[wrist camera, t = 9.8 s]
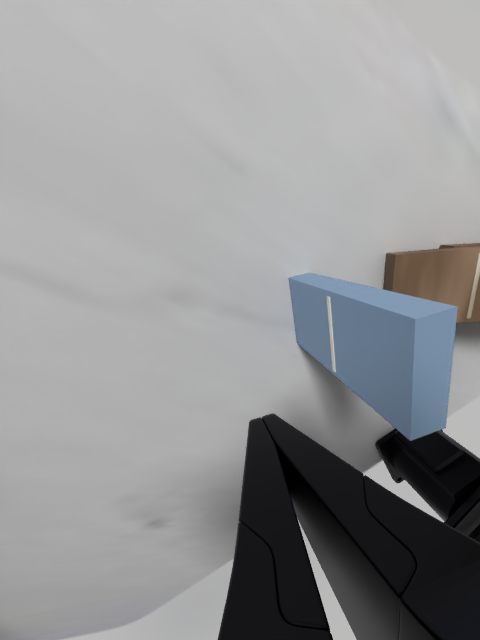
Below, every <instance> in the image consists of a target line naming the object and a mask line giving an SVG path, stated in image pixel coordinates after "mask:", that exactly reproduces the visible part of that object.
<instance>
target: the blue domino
mask: <svg viewBox="0 0 480 640" xmlns="http://www.w3.org/2000/svg"><path fill="white" fill-rule="evenodd" d="M289 285H290V293H291V301H292V308H293V316H294V323H295V331H296V339H297V343H298V344H299V345H300V346H301V347H302V348H304V349H305V350H306V351H307V352H308V353H309V354H310V355H312V356H313V357H314V358H315V359H316V360H317V361H319V362H320V363H321V364H322V365H323V366H324V367H325V368H327V369H328V370H329V371H330V372H331V373H332V374H334V375H335V376H336V377H337V378H338V379H339V380H340V381H342V382H343V383H344V384H345V385H346V386H347V387H349V388H350V389H351V390H352V391H353V392H354V393H355V394H357V395H358V396H359V397H360V398H361V399H362V400H364V401H365V402H366V403H367V404H368V405H369V406H370V407H372V408H373V409H374V410H375V411H376V412H377V413H379V414H380V415H381V416H382V417H383V418H384V419H385V420H387V421H388V422H389V423H390V424H391V425H392V426H394V427H395V428H396V429H397V430H398V431H399V432H401V433H402V434H403V435H404V436H405V437H406V438H407V439H409V440H410V441H412V440H414V439H417V438H420V437H422V436H425V435H428V434H430V433H433V432H436V431H438V430H441V429H444V428H446V419H447V409H448V399H449V389H450V379H451V369H452V359H453V349H454V339H455V329H456V319H457V309H458V307H457V306H453V305H448V304H444V303H440V302H435V301H431V300H427V299H422V298H418V297H413V296H409V295H405V294H400V293H396V292H392V291H387V290H383V289H379V288H374V287H370V286H366V285H361V284H357V283H352V282H348V281H344V280H339V279H335V278H331V277H326V276H322V275H318V274H313V273H307V274H303V275H298V276H294V277H290V278H289Z"/></svg>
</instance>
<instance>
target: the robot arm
mask: <svg viewBox="0 0 480 640" xmlns="http://www.w3.org/2000/svg"><path fill="white" fill-rule="evenodd" d="M376 447H377V449H378V451H379V453H380V455H381V457H382V459H383V461H384V463H385V464H386V467H387V469H388V471H389V473H390V474H391V477H392V479H393V480H394V481H395V482H396V483H400V482H402V481H403V480H406V481H407V482H408V483H409V484H410V485H411V486H412V488H413V489H414V490H415V491H416V492H417V493H418V494H419V495H420V496H421V497H422V498H423V499H424V500H425V501H426V502H427V503H428V504H429V506H430V507H431V508H432V509H433V510H434V511H435V512H436V513H437V514H438V515H439V516H440V517H441V518H442V519H443V520H444V521H445V522H444V523H443V522H441V521H439V520H438V519H436V518H434V517H432V516H430V515H429V514H427V513H425V512H423V511H422V510H420V509H418V508H416V507H415V506H413V505H411V504H410V503H408V502H406V501H404V500H403V499H401V498H400V497H398V496H396V495H395V494H393V493H392V492H390V491H388V490H387V489H385V488H384V487H382V486H381V485H379V484H378V483H376V482H375V481H373V480H372V479H370V478H369V477H367V476H364V477H363V473H361V472H360V471H358V470H357V469H355V468H354V467H352V466H351V465H349V464H348V463H346V462H345V461H343V460H342V459H340V458H339V457H337V456H336V455H334V454H333V453H331V452H330V451H329V450H327V449H326V448H324V447H323V446H321V445H320V444H318V443H317V442H315V441H314V440H312V439H311V438H309V437H308V436H306V435H305V434H303V433H302V432H300V431H299V430H297V429H296V428H294V427H293V426H291V425H290V424H288V423H287V422H285V421H284V420H282V419H281V418H279V417H278V416H277V415H275V414H269V415H266V416H263V417H262V418H256V419H253V420H250V422H249V429H248V438H247V448H246V457H245V466H244V476H243V485H242V494H241V504H240V513H239V523H238V530H237V539H236V547H235V554H234V561H233V568H232V574H231V578H230V584H229V589H228V595H227V600H226V604H225V608H224V613H223V618H222V622H221V627H220V632H219V636H218V640H333V638H332V635H331V633H330V628H329V624H328V621H327V618H326V614H325V611H324V607H323V604H322V601H321V597H320V594H319V590H318V587H317V584H316V580H315V577H314V574H313V570H312V567H311V564H310V560H309V557H308V554H307V550H306V546H305V543H304V540H303V536H302V533H301V529H300V526H299V523H298V520H299V522H300V524H301V526H302V528H303V530H304V532H305V534H306V536H307V538H308V540H309V542H310V545H311V547H312V548H313V551H314V553H315V555H316V557H317V559H318V561H319V563H320V565H321V567H322V569H323V571H324V573H325V575H326V577H327V579H328V581H329V583H330V586H331V588H332V590H333V592H334V594H335V596H336V598H337V600H338V602H339V604H340V606H341V608H342V610H343V612H344V614H345V616H346V618H347V620H348V622H349V624H350V626H351V629H352V630H353V633H354V635H355V637H356V639H357V640H480V458H478V457H477V456H475V455H474V454H473V453H471V452H469V451H468V450H467V449H466V448H464V447H463V446H462V445H460V444H459V443H457V442H456V441H455V440H453V439H452V438H451V437H449V436H448V435H446V434H445V433H444V432H443V431H442V429H441V430H438V431H436V432H433V433H430V434H428V435H425V436H422V437H420V438H417V439H414V440H412V441H410V440H409V439H407V438H406V437H405V436H404V435H403V434H402V433H401V432H399V431H398V430H397V429H395V430H393V431H392V432H390V433H389V434H388V435H386V436H385V437H383V438H382V439H380V440H379V441H378V442H377V443H376ZM297 518H298V519H297Z"/></svg>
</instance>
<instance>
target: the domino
mask: <svg viewBox="0 0 480 640" xmlns="http://www.w3.org/2000/svg"><path fill="white" fill-rule="evenodd" d="M384 290H387V291H392V292H396V293H400V294H405V295H409V296H413V297H418V298H422V299H427V300H431V301H435V302H440V303H444V304H448V305H453V306H457V307H458V309H457V319H456V323H459V322H480V246H468V247H456V248H444V249H432V250H420V251H408V252H396V253H386V265H385V277H384Z"/></svg>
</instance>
